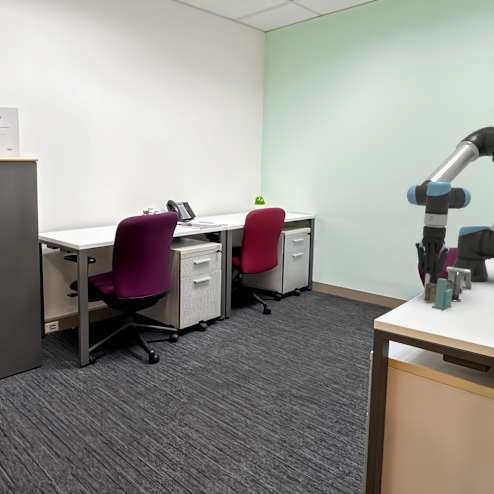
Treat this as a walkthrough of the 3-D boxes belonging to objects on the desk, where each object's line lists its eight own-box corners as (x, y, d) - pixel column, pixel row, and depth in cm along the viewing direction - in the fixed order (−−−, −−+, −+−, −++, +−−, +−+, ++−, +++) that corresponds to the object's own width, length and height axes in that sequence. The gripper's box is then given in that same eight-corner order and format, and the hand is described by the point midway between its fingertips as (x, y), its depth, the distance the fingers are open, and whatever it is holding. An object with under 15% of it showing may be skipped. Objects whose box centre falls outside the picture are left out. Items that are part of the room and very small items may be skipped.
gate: (448, 298, 169) (450, 281, 168) (451, 299, 168) (453, 282, 167) (424, 300, 166) (425, 283, 165) (427, 301, 164) (429, 284, 163)
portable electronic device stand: (471, 288, 190) (474, 267, 188) (466, 291, 184) (468, 270, 182) (449, 284, 195) (451, 264, 194) (443, 287, 189) (445, 267, 188)
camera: (450, 294, 179) (451, 284, 178) (434, 288, 189) (435, 277, 188) (462, 294, 180) (463, 283, 179) (445, 287, 190) (446, 277, 189)
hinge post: (451, 298, 172) (454, 270, 171) (462, 300, 170) (465, 272, 168) (447, 300, 170) (450, 271, 168) (458, 302, 167) (461, 273, 165)
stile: (439, 304, 164) (442, 275, 162) (450, 306, 161) (453, 278, 160) (431, 307, 159) (434, 278, 158) (443, 310, 157) (446, 280, 155)
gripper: (412, 224, 169) (406, 288, 172) (445, 228, 158) (438, 296, 162) (425, 223, 173) (418, 286, 177) (458, 227, 162) (450, 294, 166)
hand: (428, 291), depth 169 cm, fingers closed
